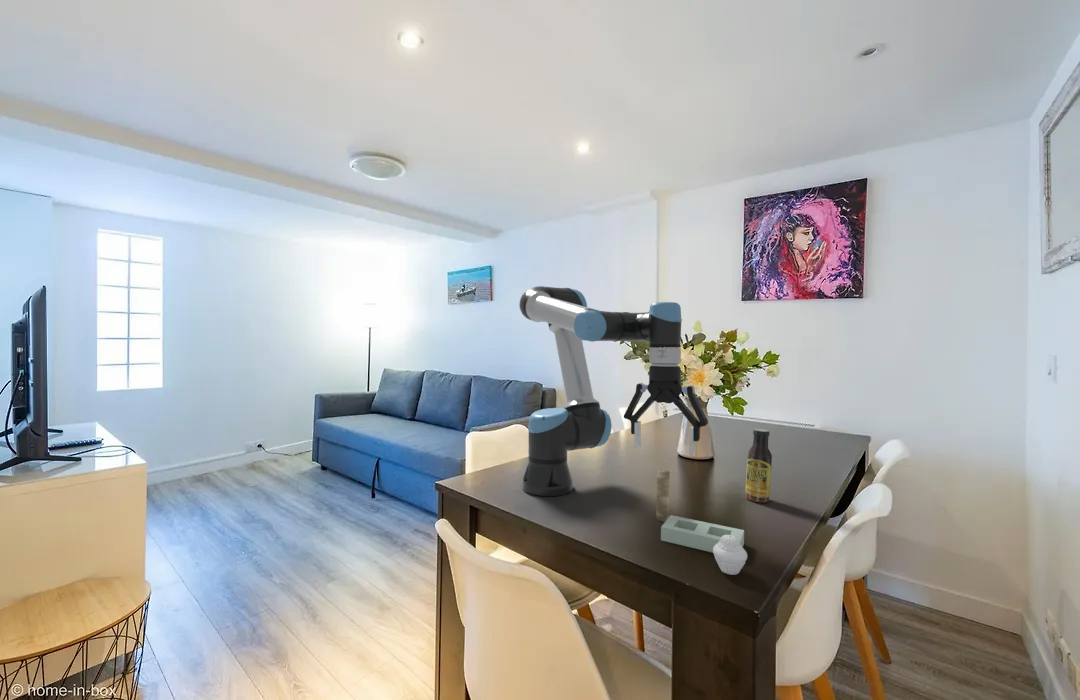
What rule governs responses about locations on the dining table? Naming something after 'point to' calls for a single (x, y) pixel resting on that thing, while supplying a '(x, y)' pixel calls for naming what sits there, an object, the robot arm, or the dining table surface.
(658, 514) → the peg
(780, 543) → the dining table surface
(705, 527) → the hole block
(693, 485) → the dining table surface
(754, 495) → the sauce bottle
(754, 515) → the dining table surface
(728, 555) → the muffin
